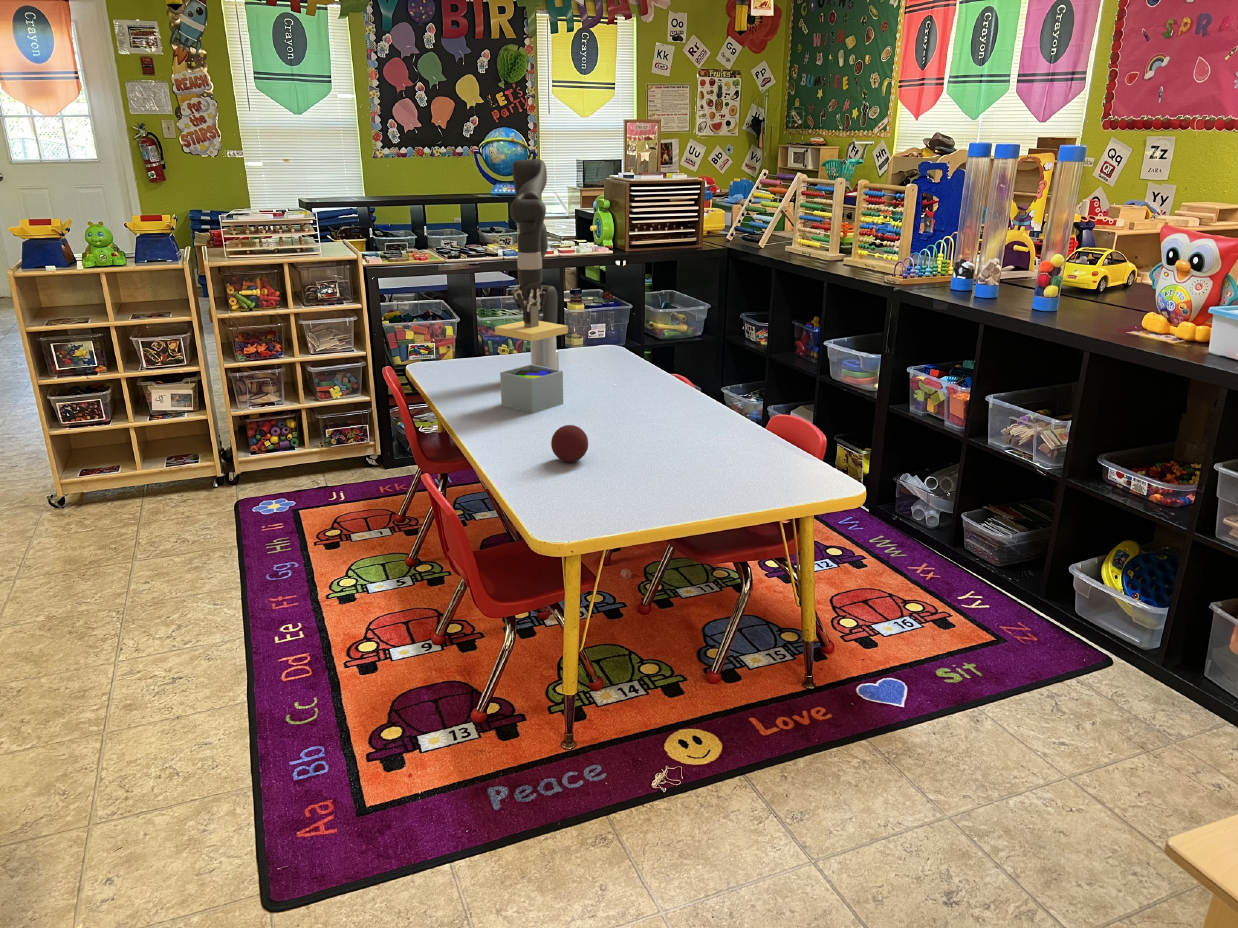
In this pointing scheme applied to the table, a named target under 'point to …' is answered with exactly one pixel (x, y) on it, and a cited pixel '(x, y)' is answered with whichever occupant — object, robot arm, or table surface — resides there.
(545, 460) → the table surface
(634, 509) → the table surface
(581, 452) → the decorative ball
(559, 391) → the box
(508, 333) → the lid
